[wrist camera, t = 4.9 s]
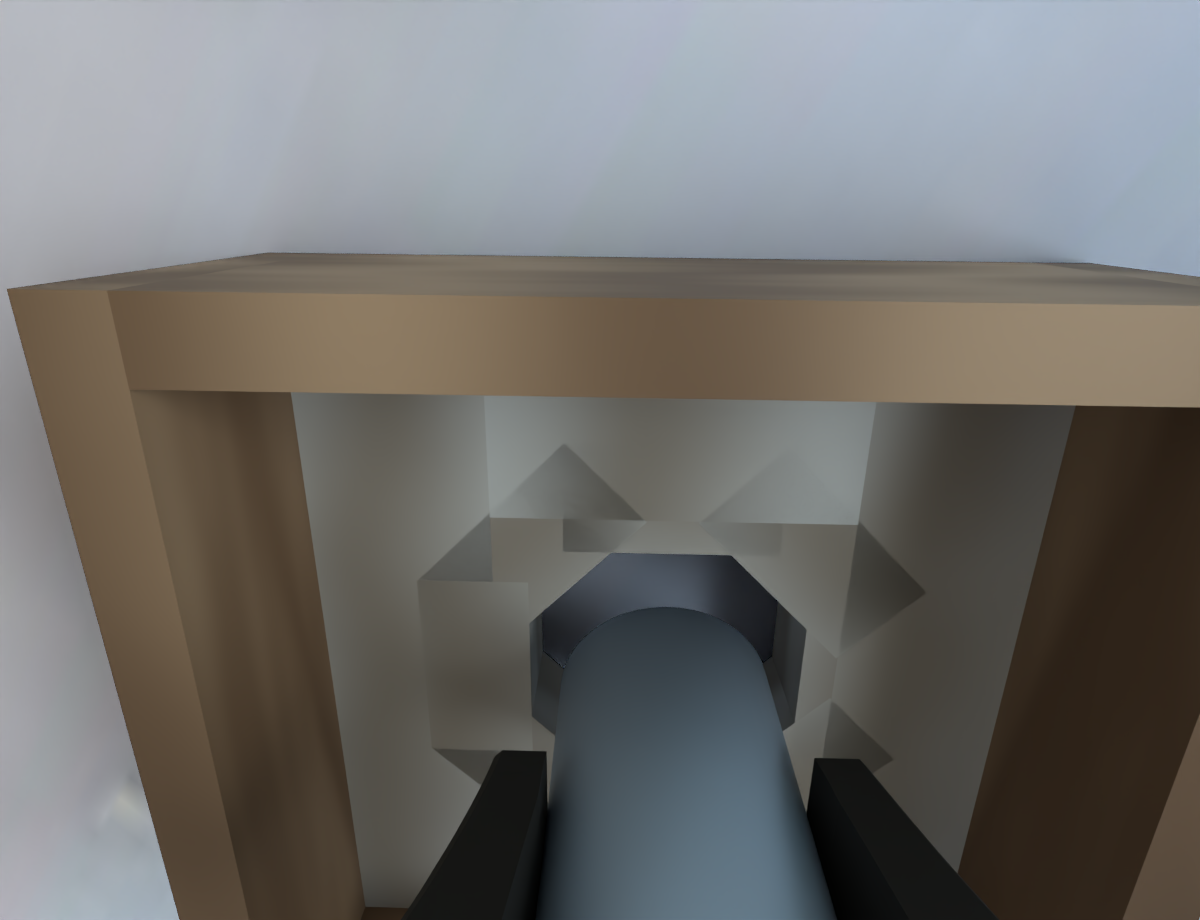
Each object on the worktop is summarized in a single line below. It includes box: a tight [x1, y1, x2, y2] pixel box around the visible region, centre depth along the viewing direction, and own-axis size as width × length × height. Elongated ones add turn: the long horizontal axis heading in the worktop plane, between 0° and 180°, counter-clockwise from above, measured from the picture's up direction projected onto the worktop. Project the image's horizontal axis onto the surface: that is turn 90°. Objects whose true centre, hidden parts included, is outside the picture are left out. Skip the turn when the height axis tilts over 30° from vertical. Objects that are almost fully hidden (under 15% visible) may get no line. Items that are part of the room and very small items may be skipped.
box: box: [7, 253, 1200, 920], centre depth 12 cm, size 14×14×6 cm
